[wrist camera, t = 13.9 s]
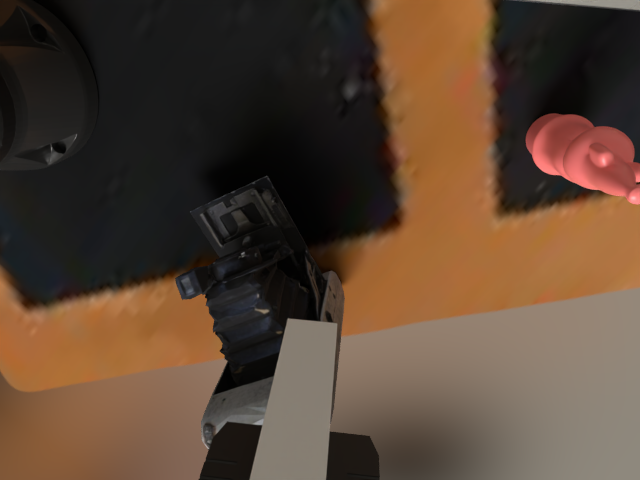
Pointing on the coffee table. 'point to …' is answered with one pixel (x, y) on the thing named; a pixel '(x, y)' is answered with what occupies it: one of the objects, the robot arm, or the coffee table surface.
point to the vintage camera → (256, 297)
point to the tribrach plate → (595, 3)
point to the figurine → (585, 154)
